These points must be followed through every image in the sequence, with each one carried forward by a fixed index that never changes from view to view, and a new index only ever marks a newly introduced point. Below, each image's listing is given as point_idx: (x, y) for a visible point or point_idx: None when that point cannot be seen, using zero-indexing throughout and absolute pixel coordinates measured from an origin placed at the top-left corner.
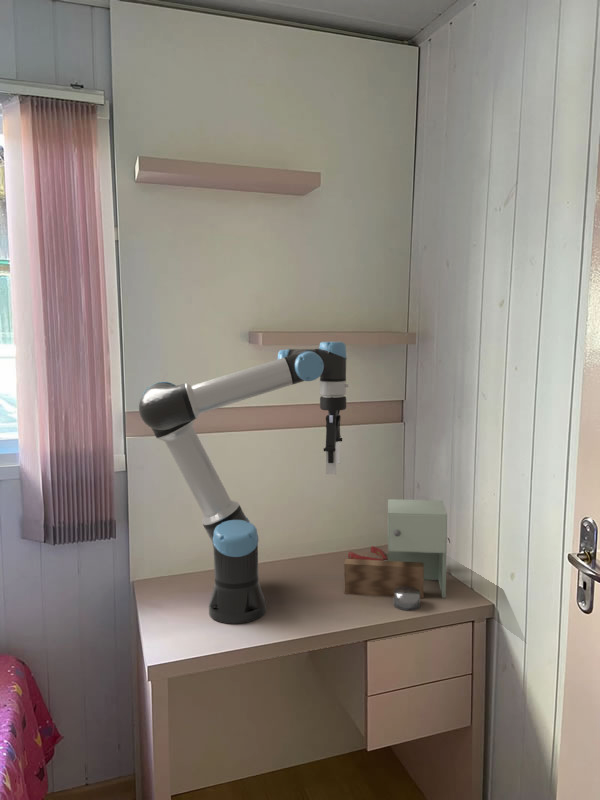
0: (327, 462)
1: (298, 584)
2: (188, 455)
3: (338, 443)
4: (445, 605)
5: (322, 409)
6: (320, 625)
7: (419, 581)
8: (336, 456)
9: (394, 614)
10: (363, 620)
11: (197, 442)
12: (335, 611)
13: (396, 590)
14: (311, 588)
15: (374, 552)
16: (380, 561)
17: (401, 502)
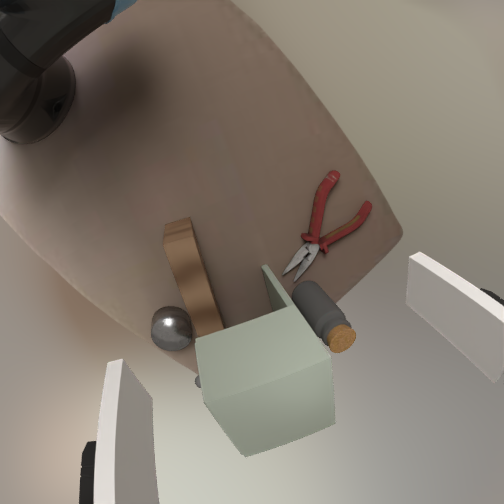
0: (103, 434)
1: (170, 126)
2: None
3: (492, 372)
4: (195, 359)
5: None
6: (48, 239)
7: None
8: (436, 311)
9: (133, 317)
10: (93, 287)
11: None
12: (96, 239)
13: (166, 322)
14: (161, 158)
15: (361, 209)
16: (208, 302)
17: (308, 388)
